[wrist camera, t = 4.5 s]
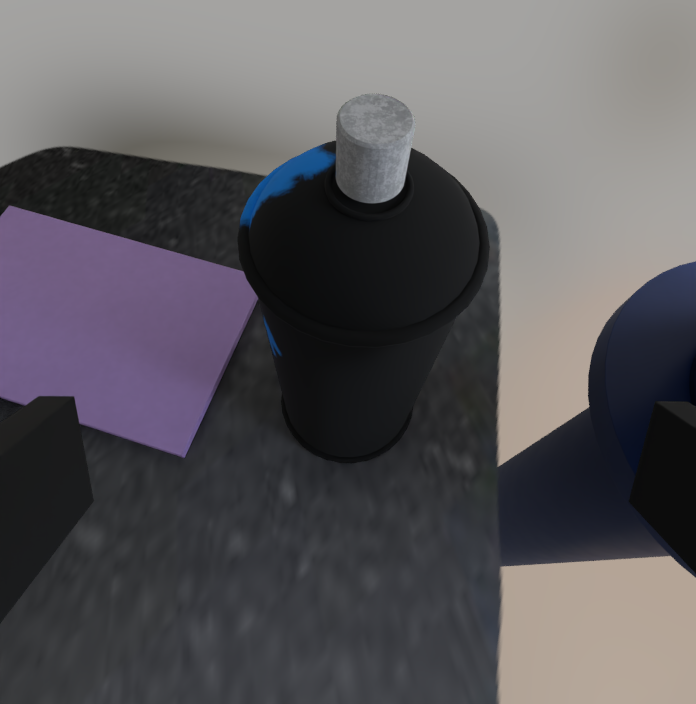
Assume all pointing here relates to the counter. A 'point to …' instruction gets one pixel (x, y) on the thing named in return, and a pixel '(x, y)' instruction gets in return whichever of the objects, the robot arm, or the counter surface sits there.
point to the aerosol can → (360, 277)
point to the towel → (115, 327)
